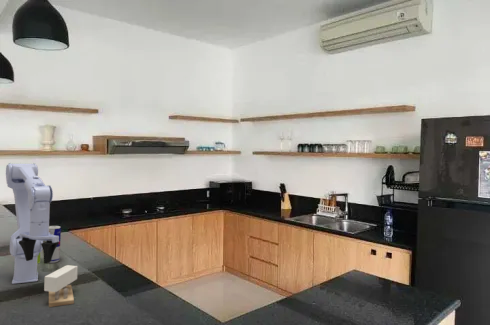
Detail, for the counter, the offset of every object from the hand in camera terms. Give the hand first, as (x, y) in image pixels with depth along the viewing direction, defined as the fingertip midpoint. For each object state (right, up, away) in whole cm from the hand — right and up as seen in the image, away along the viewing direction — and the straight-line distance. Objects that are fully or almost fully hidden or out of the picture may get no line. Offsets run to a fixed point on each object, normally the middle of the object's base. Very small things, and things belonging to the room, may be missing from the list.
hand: (38, 261), depth 123 cm
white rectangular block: (+9, -7, -3) cm, 12 cm away
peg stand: (+9, -11, -3) cm, 15 cm away
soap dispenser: (-20, -9, +30) cm, 37 cm away
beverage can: (-13, -9, +33) cm, 36 cm away
